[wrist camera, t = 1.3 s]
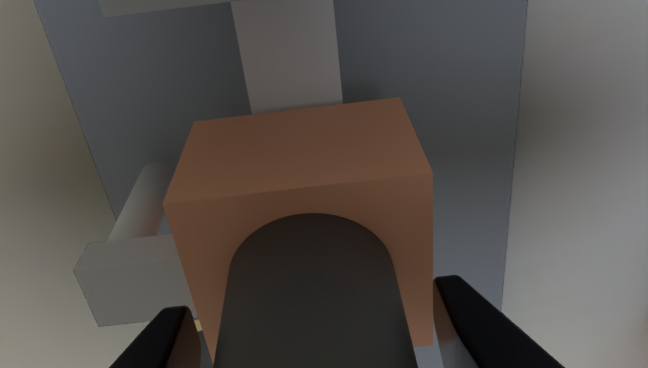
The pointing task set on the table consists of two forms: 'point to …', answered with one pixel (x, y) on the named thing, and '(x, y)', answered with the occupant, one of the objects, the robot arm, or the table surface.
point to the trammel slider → (282, 240)
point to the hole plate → (379, 64)
